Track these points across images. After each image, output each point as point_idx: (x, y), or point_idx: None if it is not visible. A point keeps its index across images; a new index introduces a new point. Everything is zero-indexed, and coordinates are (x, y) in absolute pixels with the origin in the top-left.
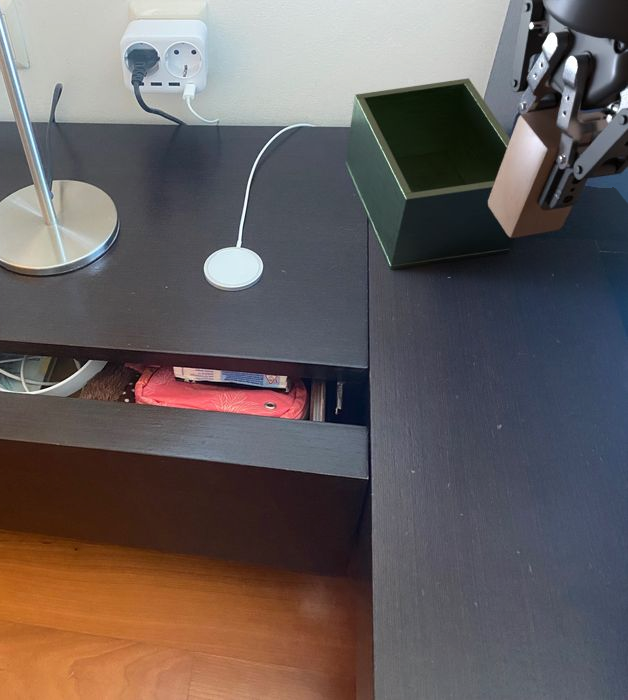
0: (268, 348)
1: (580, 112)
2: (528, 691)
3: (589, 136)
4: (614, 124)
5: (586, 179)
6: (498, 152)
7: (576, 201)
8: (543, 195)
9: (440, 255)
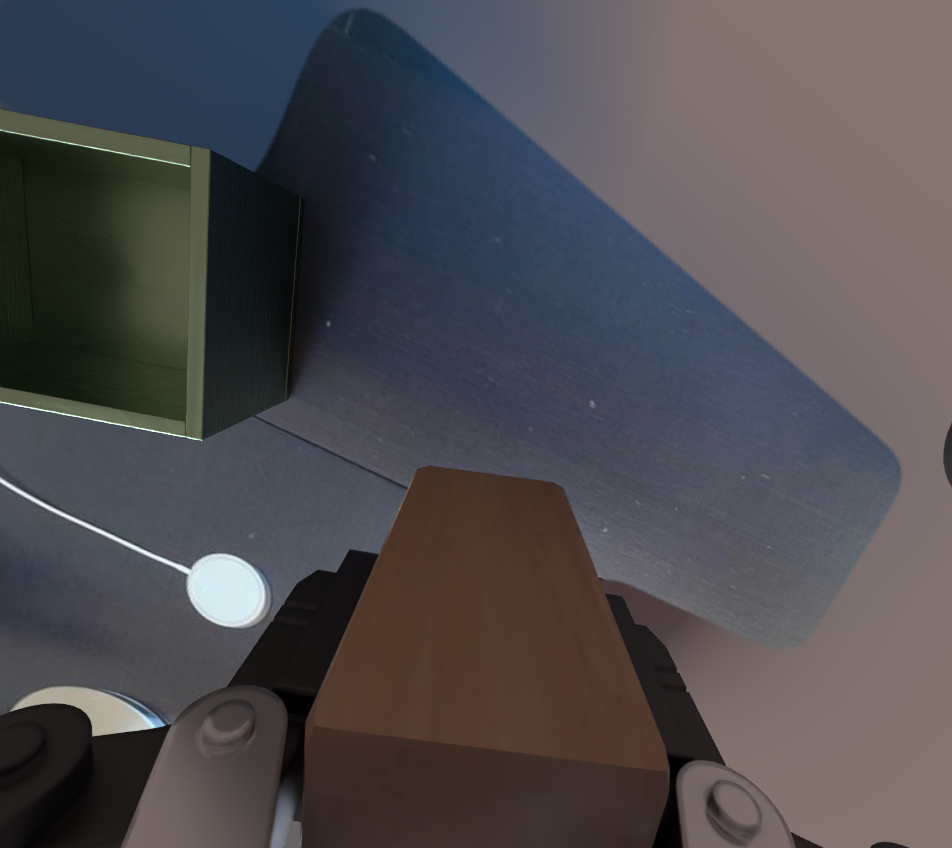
0: None
1: (400, 758)
2: (865, 547)
3: (624, 843)
4: None
5: (710, 742)
6: (85, 152)
7: (664, 645)
8: None
9: (287, 324)
